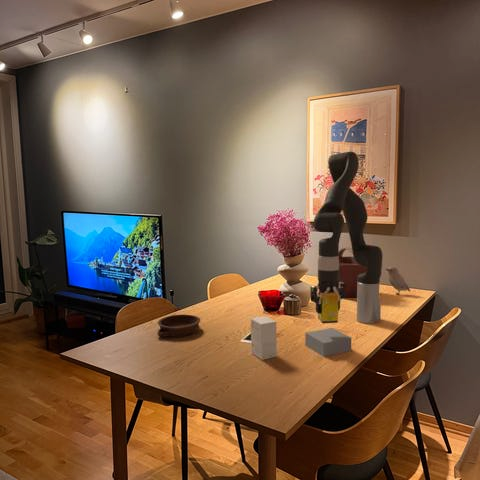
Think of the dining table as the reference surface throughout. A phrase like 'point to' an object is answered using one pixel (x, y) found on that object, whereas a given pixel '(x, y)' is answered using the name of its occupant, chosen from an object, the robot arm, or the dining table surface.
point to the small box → (263, 337)
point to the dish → (178, 325)
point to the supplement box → (329, 308)
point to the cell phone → (247, 339)
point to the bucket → (349, 273)
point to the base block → (328, 342)
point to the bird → (397, 280)
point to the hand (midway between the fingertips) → (327, 311)
